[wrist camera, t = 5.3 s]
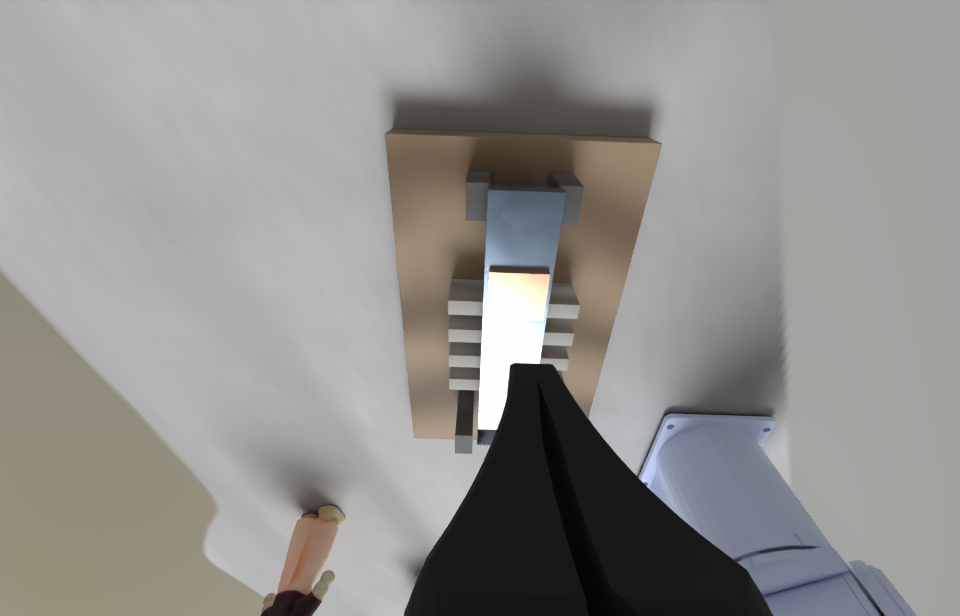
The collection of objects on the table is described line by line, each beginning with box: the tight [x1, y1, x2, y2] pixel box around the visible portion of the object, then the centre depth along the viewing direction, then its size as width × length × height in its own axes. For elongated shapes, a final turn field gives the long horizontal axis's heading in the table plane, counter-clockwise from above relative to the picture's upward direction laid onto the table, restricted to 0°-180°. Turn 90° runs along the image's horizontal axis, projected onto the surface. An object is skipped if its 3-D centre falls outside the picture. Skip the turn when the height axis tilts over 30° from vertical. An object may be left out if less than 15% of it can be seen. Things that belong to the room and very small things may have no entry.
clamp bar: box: [477, 181, 566, 445], centre depth 19 cm, size 15×3×2 cm, turn 178°
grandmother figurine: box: [261, 505, 345, 616], centre depth 31 cm, size 8×4×13 cm, turn 136°
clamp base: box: [385, 129, 662, 454], centre depth 21 cm, size 20×12×5 cm, turn 178°
